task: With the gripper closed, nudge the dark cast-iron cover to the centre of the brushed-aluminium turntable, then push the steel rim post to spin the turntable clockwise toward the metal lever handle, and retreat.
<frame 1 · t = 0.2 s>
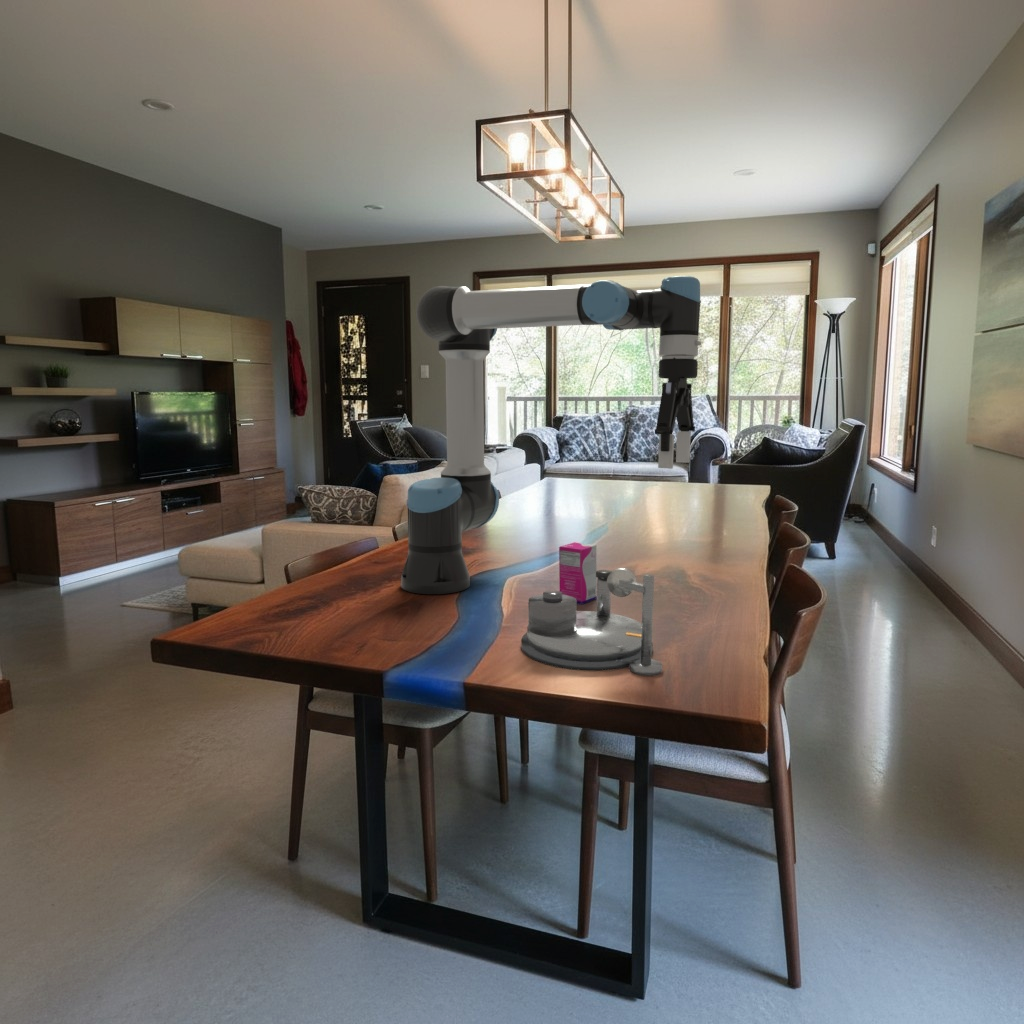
hand: (674, 465, 153), 28 cm above the table, fingers open, 13 cm apart
metal lever handle: (645, 670, 117), on the table
cover: (552, 629, 126), point 3 cm above the table, touching turntable
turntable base: (586, 646, 127), on the table
supplement box: (577, 600, 156), on the table
turntable: (587, 611, 126), point 6 cm above the table, hinge at 0.0°, touching cover
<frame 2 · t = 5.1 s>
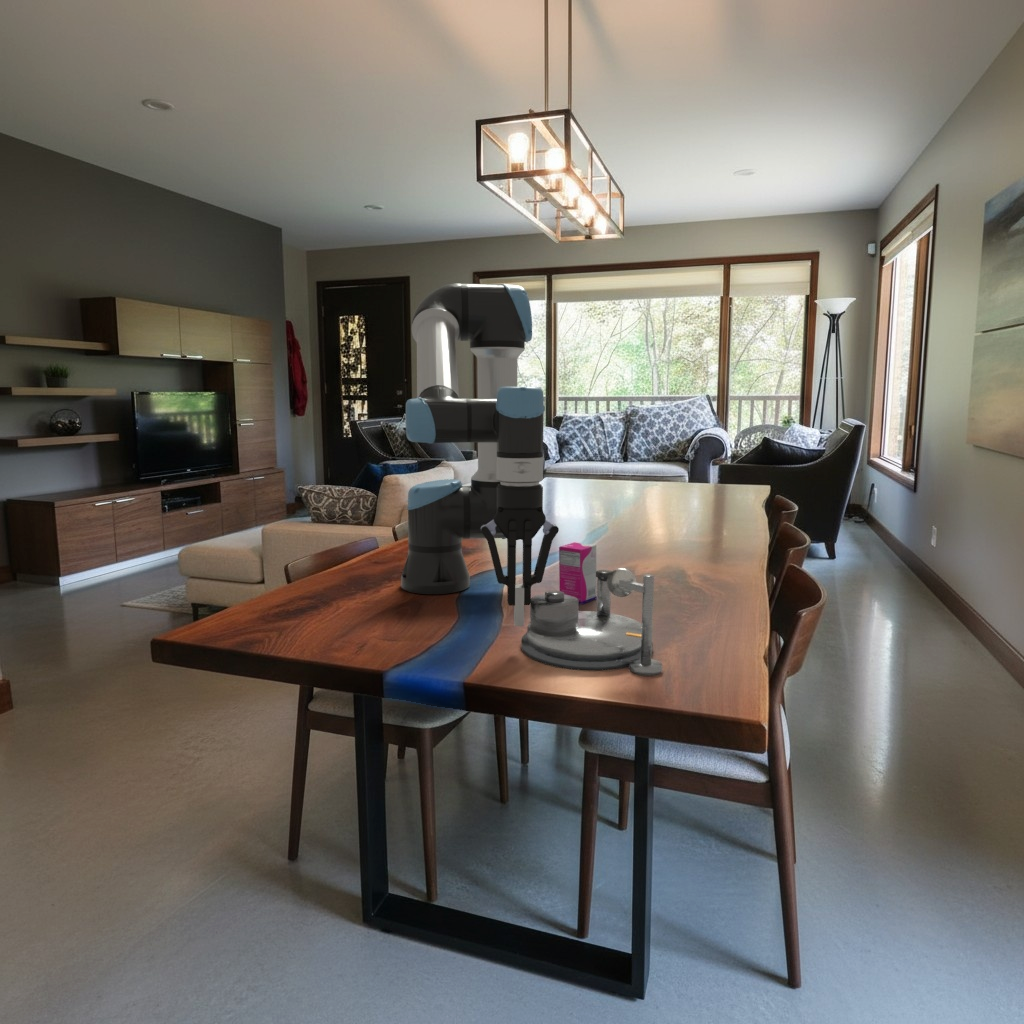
hand: (518, 623, 126), 4 cm above the table, fingers closed
nothing on the table moved.
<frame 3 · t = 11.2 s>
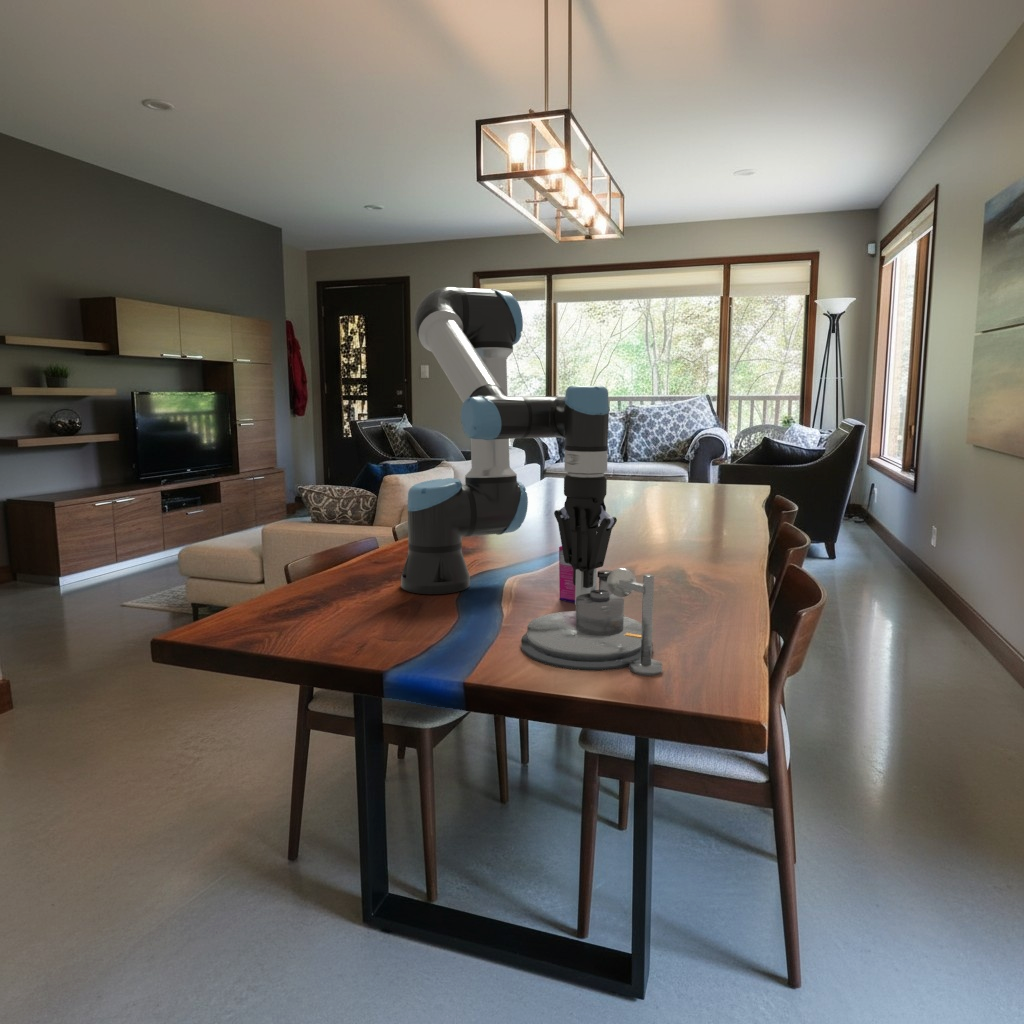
hand: (582, 603, 137), 5 cm above the table, fingers closed
cover: (599, 628, 127), point 3 cm above the table, touching turntable
turntable: (587, 611, 126), point 6 cm above the table, hinge at -2.2°, touching cover, gripper
everything else where it was.
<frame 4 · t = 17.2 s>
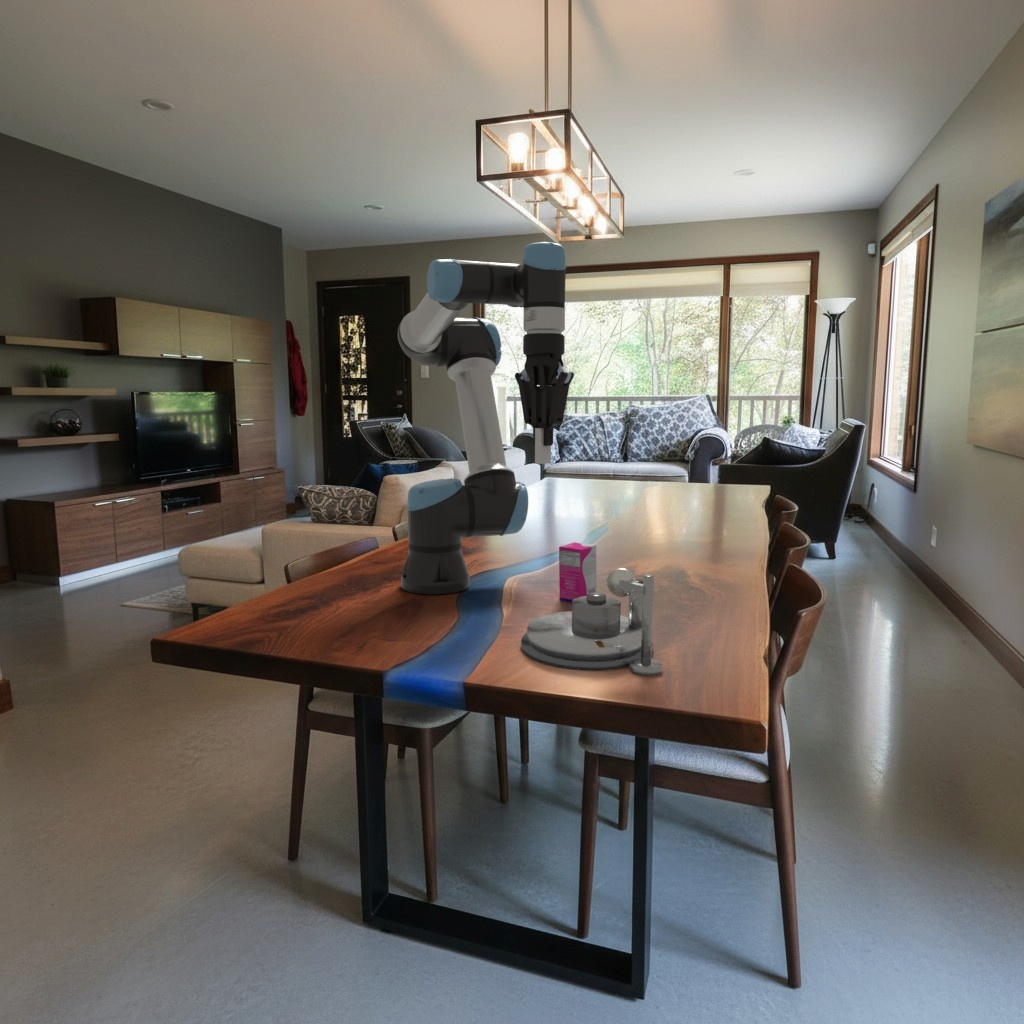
hand: (542, 463, 140), 29 cm above the table, fingers closed
cover: (595, 631, 125), point 3 cm above the table, touching turntable
turntable: (587, 611, 126), point 6 cm above the table, hinge at -55.4°, touching cover
everything else where it was.
at the end: cover 2.1 cm from the turntable (horizontally); cover tilted 0°; turntable at -55° (first picture: +0°) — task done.
